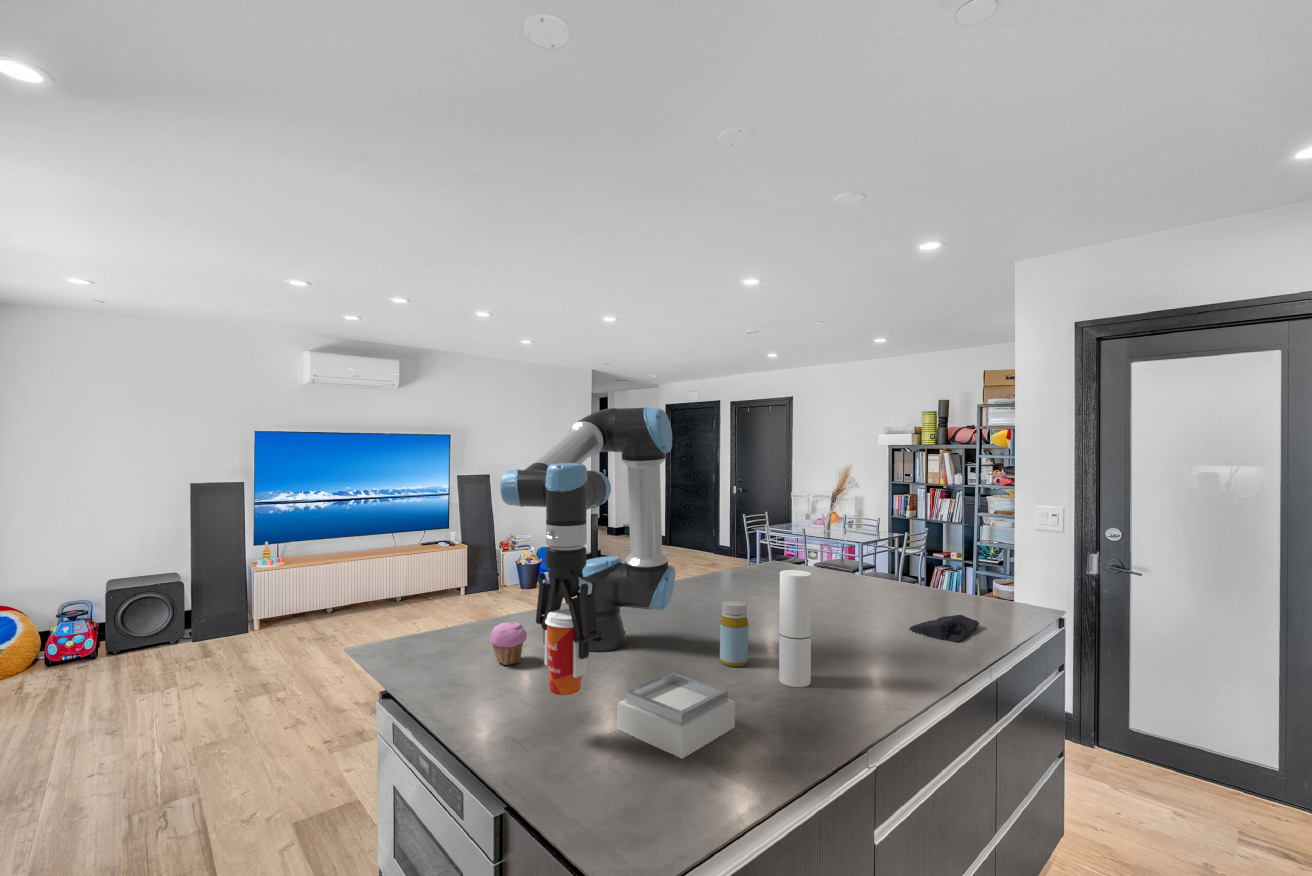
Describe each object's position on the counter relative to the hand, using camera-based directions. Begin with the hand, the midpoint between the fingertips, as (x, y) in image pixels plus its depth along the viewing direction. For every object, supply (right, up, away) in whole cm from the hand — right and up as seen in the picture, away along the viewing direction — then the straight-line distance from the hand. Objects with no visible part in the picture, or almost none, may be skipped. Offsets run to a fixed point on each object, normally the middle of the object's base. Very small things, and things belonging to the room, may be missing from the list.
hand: (565, 668), depth 110 cm
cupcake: (-20, -13, +37) cm, 44 cm away
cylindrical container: (+49, -14, +28) cm, 58 cm away
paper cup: (0, -4, 0) cm, 4 cm away
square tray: (+21, -13, +3) cm, 25 cm away
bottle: (+37, -14, +39) cm, 55 cm away
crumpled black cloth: (+105, -16, +69) cm, 126 cm away
